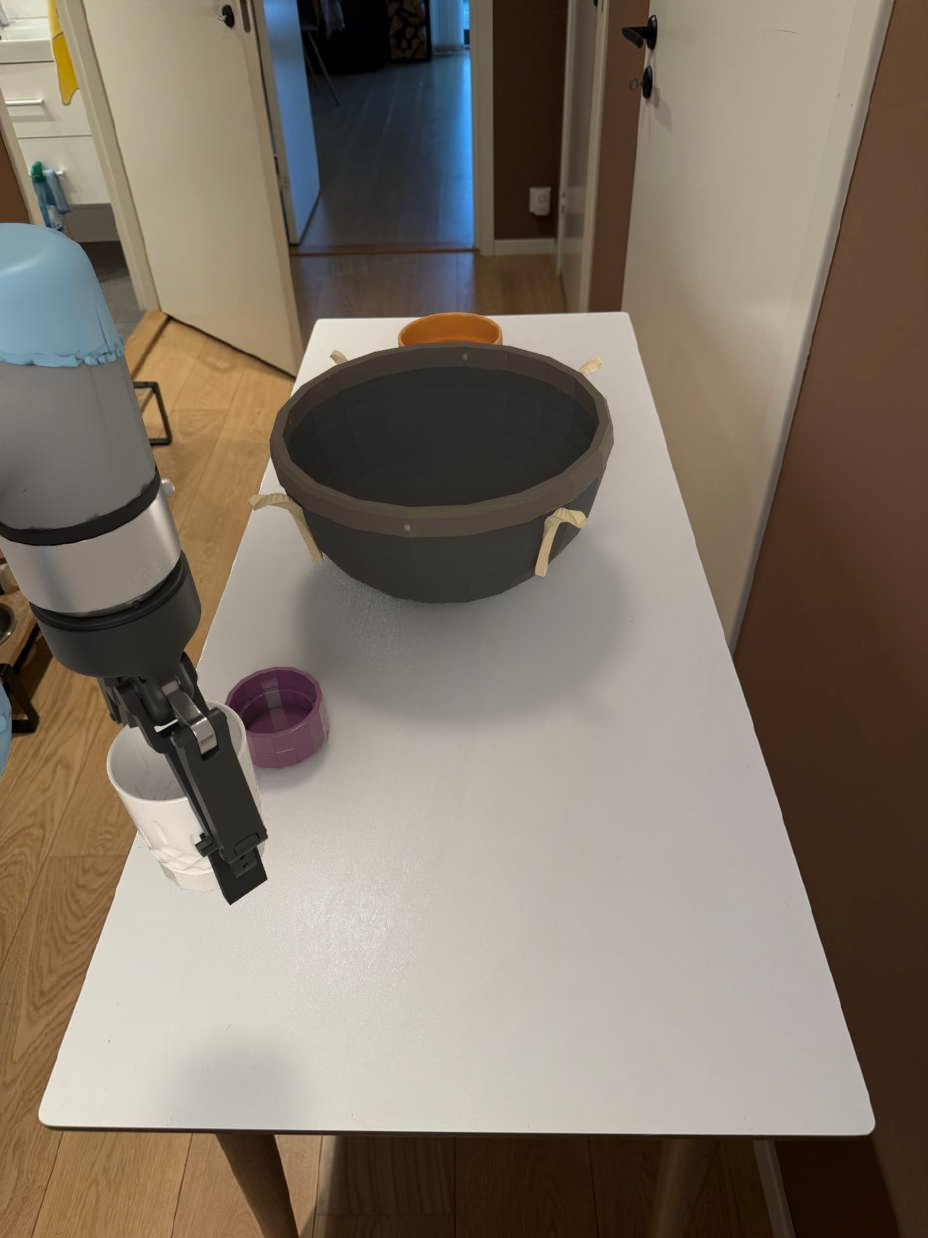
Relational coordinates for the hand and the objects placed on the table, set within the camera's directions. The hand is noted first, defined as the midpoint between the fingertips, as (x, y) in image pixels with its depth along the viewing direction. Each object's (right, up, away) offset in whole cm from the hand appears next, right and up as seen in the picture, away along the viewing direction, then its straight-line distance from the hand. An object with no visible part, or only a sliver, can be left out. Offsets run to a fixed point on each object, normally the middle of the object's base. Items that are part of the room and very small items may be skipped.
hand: (212, 846), depth 60 cm
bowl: (+15, +20, +48) cm, 54 cm away
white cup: (0, 0, 0) cm, 0 cm away
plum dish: (-1, +3, +30) cm, 30 cm away
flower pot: (+15, +43, +74) cm, 87 cm away
